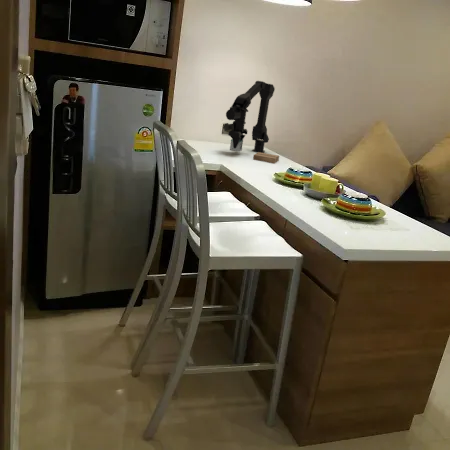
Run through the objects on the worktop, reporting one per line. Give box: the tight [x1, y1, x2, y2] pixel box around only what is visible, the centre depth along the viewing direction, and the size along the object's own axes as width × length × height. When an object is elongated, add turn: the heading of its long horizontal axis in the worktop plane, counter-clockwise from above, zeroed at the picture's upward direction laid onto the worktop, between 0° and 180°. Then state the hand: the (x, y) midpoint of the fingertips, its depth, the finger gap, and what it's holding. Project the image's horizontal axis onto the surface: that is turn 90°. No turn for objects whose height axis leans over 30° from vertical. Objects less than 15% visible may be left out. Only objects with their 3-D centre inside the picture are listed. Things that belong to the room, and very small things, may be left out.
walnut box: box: [252, 152, 280, 164], centre depth 287 cm, size 12×12×3 cm
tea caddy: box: [229, 138, 244, 153], centre depth 290 cm, size 6×6×6 cm
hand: (236, 147), depth 291 cm, fingers closed on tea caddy, 5 cm apart
